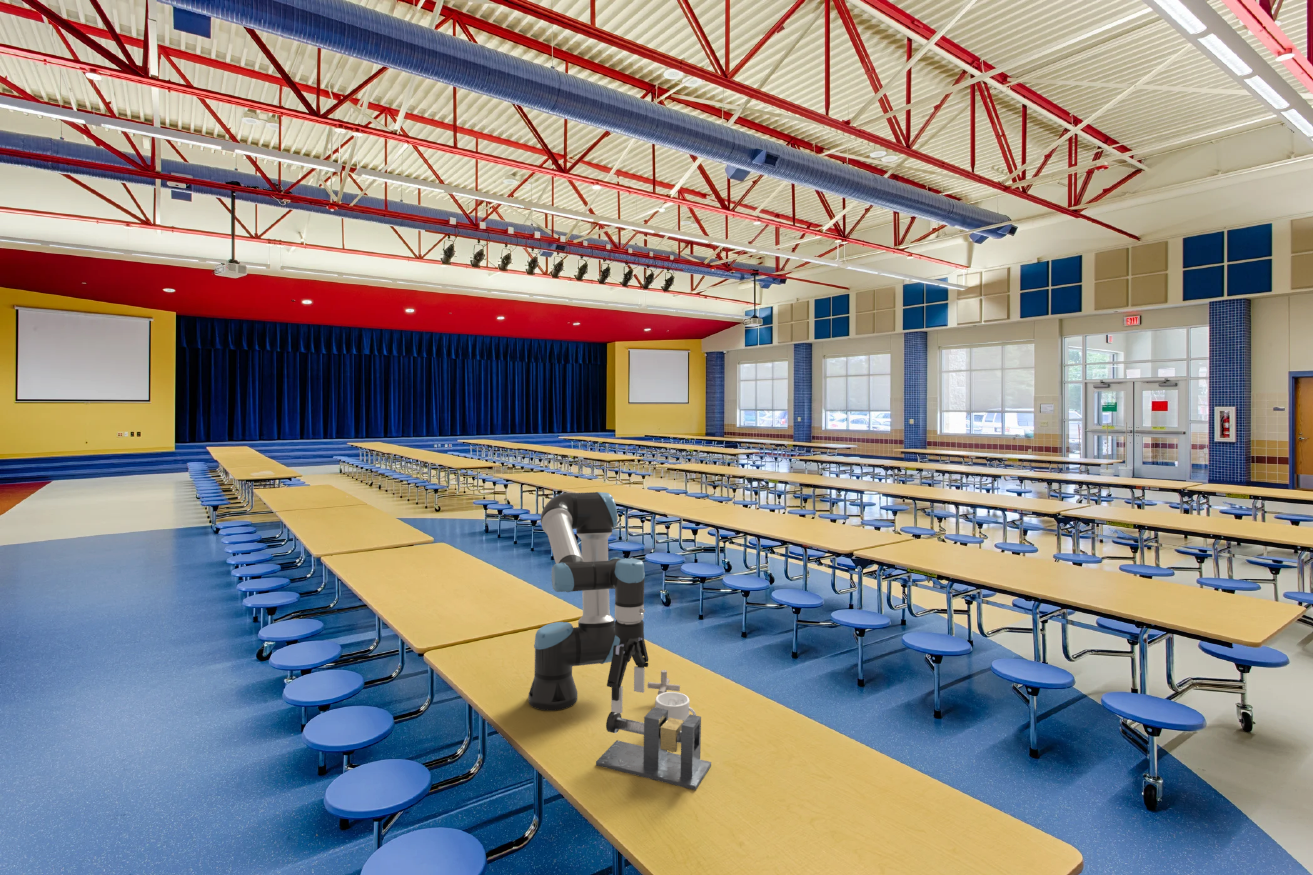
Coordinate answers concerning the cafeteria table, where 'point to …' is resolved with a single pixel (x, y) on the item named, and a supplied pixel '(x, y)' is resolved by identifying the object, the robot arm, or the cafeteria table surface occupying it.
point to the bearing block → (661, 754)
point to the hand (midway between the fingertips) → (628, 701)
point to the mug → (674, 705)
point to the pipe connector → (663, 684)
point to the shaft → (628, 725)
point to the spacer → (670, 734)
